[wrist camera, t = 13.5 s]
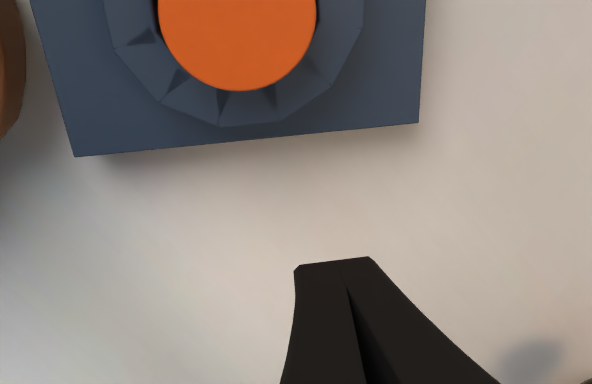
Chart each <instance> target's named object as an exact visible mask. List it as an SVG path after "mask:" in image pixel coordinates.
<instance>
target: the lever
mask: <svg viewBox="0 0 592 384" xmlns="http://www.w3.org/2000/svg"><path fill="white" fill-rule="evenodd" d="M581 384H592V378H590V379H588V380H586V381H584V382H582V383H581Z"/></svg>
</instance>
